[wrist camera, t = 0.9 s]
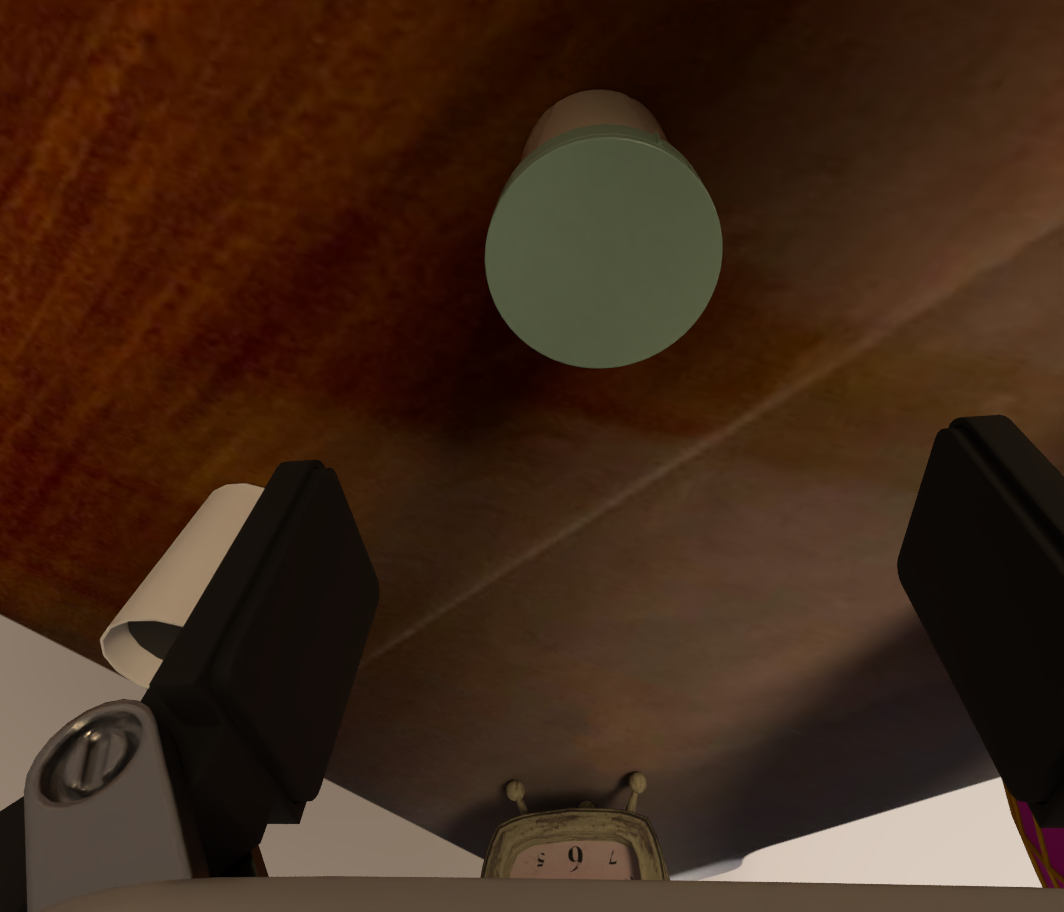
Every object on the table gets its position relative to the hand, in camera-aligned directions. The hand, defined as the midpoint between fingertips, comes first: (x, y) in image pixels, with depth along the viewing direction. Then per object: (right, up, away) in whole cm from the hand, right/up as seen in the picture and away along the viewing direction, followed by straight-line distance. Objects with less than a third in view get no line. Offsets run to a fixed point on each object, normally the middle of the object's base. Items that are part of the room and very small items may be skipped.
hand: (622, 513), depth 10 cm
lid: (+1, +7, +8) cm, 11 cm away
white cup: (-18, -3, +29) cm, 34 cm away
